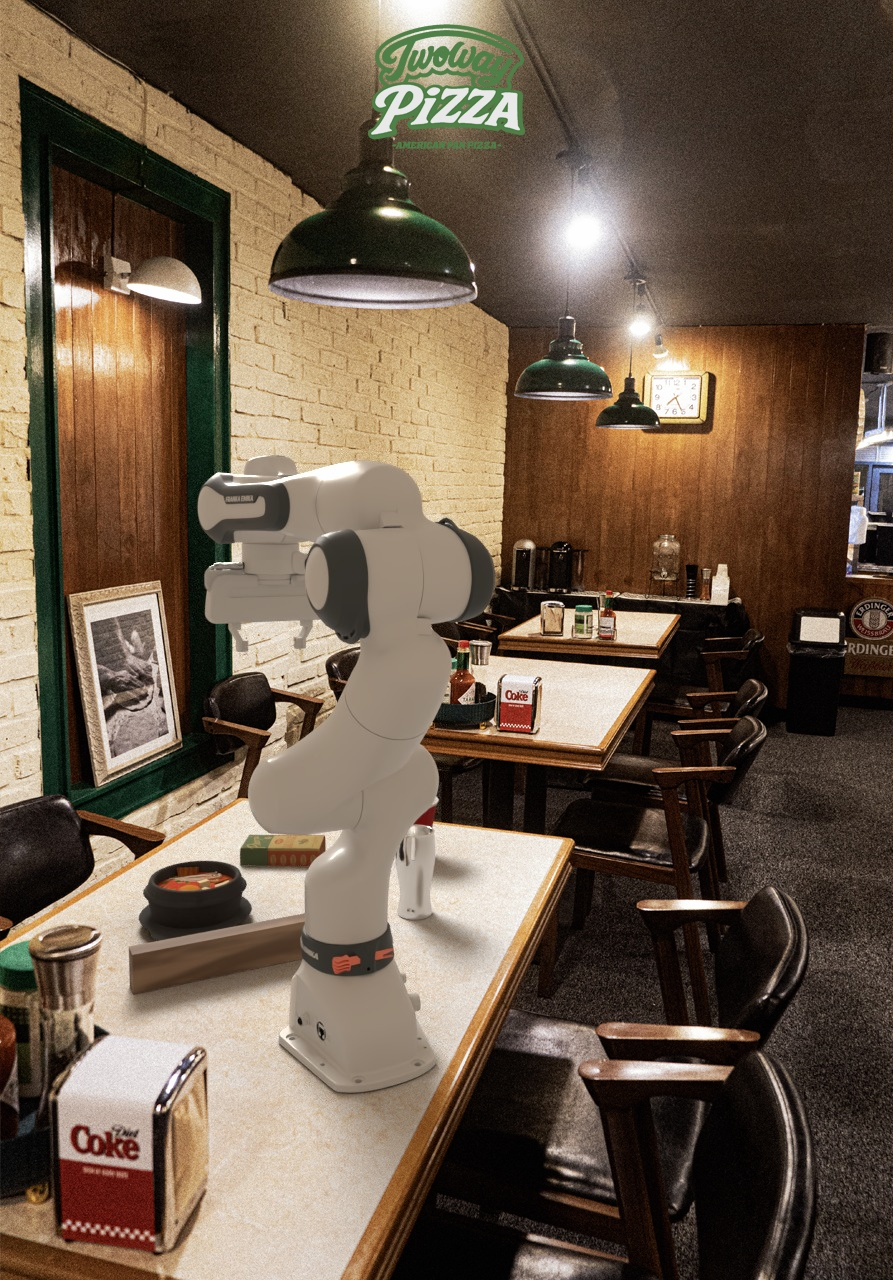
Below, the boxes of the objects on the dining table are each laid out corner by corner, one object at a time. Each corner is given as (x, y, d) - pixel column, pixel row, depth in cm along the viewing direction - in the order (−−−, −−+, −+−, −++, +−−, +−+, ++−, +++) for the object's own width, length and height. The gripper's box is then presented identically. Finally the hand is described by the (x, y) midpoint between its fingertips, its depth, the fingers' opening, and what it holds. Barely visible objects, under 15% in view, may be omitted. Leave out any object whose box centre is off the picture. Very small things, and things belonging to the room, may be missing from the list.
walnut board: (317, 955, 151) (317, 919, 150) (133, 994, 138) (132, 954, 137) (310, 947, 153) (310, 912, 153) (129, 985, 140) (128, 946, 140)
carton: (320, 868, 189) (319, 847, 189) (239, 867, 189) (238, 846, 189) (325, 853, 198) (325, 833, 197) (248, 852, 198) (248, 832, 197)
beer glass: (387, 911, 168) (387, 829, 166) (418, 902, 172) (418, 821, 170) (411, 924, 163) (412, 839, 161) (442, 914, 167) (443, 831, 165)
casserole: (149, 897, 173) (148, 852, 172) (254, 891, 176) (253, 847, 175) (127, 959, 149) (126, 907, 148) (249, 951, 152) (248, 901, 151)
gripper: (209, 563, 141) (211, 656, 143) (338, 562, 151) (338, 649, 153) (198, 561, 147) (200, 650, 149) (323, 560, 157) (323, 644, 158)
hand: (271, 649), depth 151 cm, fingers open, 8 cm apart
